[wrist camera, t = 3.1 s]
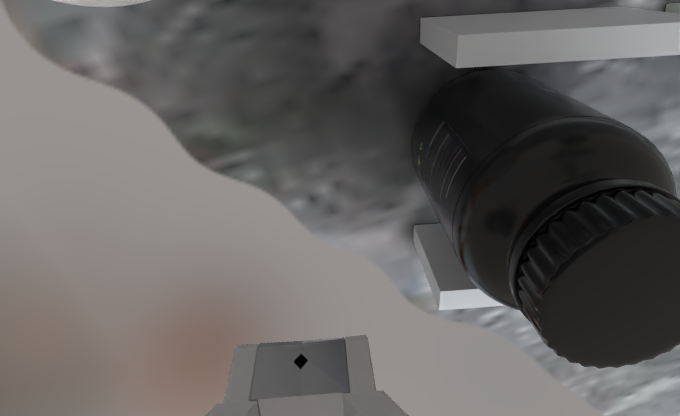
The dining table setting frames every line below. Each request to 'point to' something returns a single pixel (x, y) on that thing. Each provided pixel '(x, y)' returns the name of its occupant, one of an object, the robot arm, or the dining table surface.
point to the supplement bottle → (556, 214)
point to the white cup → (102, 2)
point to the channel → (528, 48)
